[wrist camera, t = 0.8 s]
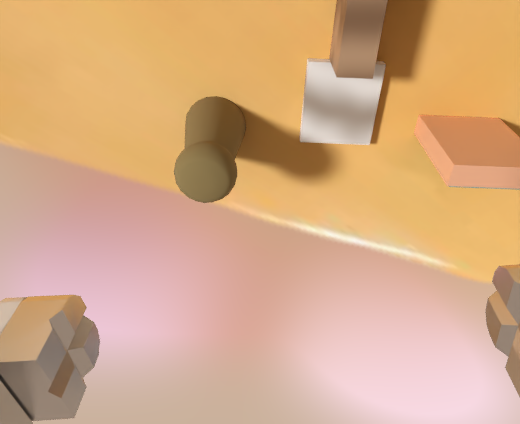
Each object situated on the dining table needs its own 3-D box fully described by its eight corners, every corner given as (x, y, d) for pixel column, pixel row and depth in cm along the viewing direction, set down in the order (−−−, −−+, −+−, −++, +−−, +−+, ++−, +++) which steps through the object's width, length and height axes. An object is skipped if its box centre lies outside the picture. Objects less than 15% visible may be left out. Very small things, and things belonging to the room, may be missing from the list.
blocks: (320, -71, 35) (328, -67, 31) (409, -67, 35) (428, -62, 31) (299, 137, 45) (302, 161, 41) (367, 140, 46) (377, 164, 42)
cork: (257, 134, 45) (255, 194, 36) (208, 161, 47) (195, 224, 38) (223, 84, 42) (213, 136, 33) (173, 115, 44) (150, 172, 35)
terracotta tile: (418, 114, 44) (454, 164, 36) (499, 118, 44) (552, 168, 36) (413, 136, 45) (446, 189, 37) (491, 139, 45) (541, 192, 37)
